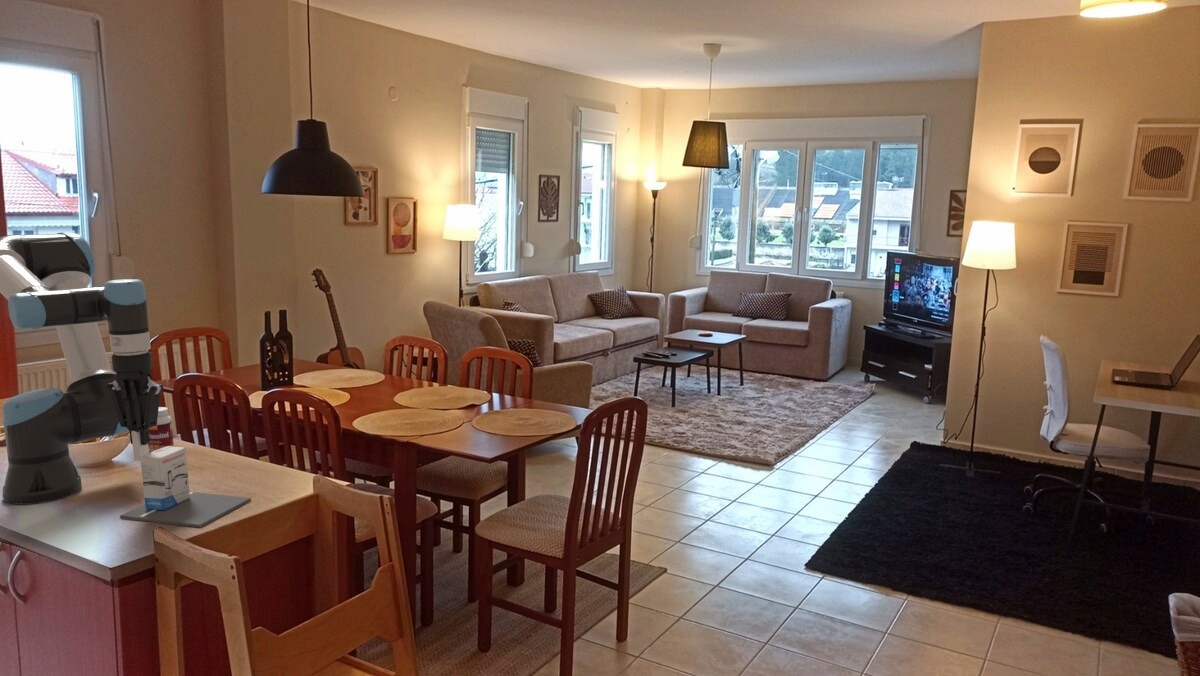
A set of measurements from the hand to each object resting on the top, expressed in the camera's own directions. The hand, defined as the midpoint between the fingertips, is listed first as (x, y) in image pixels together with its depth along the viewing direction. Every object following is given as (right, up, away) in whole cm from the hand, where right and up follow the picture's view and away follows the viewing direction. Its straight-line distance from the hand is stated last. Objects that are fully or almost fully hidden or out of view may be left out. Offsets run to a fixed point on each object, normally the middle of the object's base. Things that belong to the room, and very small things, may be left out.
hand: (141, 458), depth 186 cm
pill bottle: (-17, -4, +42) cm, 46 cm away
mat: (+10, -11, -1) cm, 15 cm away
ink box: (+5, -10, +1) cm, 11 cm away
